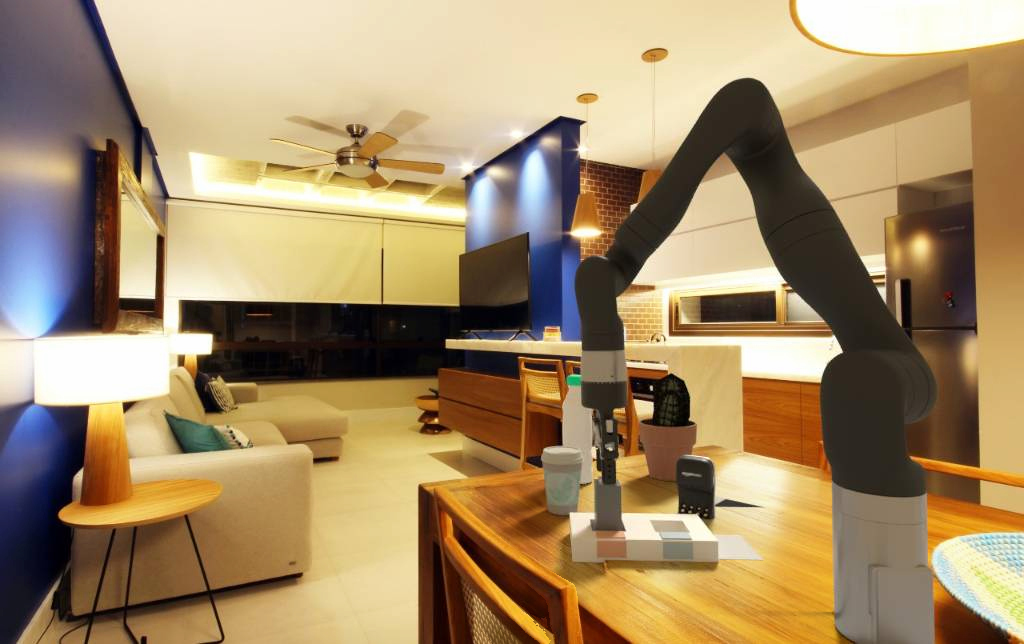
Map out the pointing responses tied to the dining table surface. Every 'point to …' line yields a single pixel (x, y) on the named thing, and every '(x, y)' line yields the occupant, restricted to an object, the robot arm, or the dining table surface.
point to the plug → (607, 506)
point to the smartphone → (731, 503)
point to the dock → (643, 539)
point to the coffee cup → (562, 478)
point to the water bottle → (578, 426)
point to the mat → (735, 548)
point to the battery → (696, 486)
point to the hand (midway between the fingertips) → (605, 477)
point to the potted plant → (668, 428)
